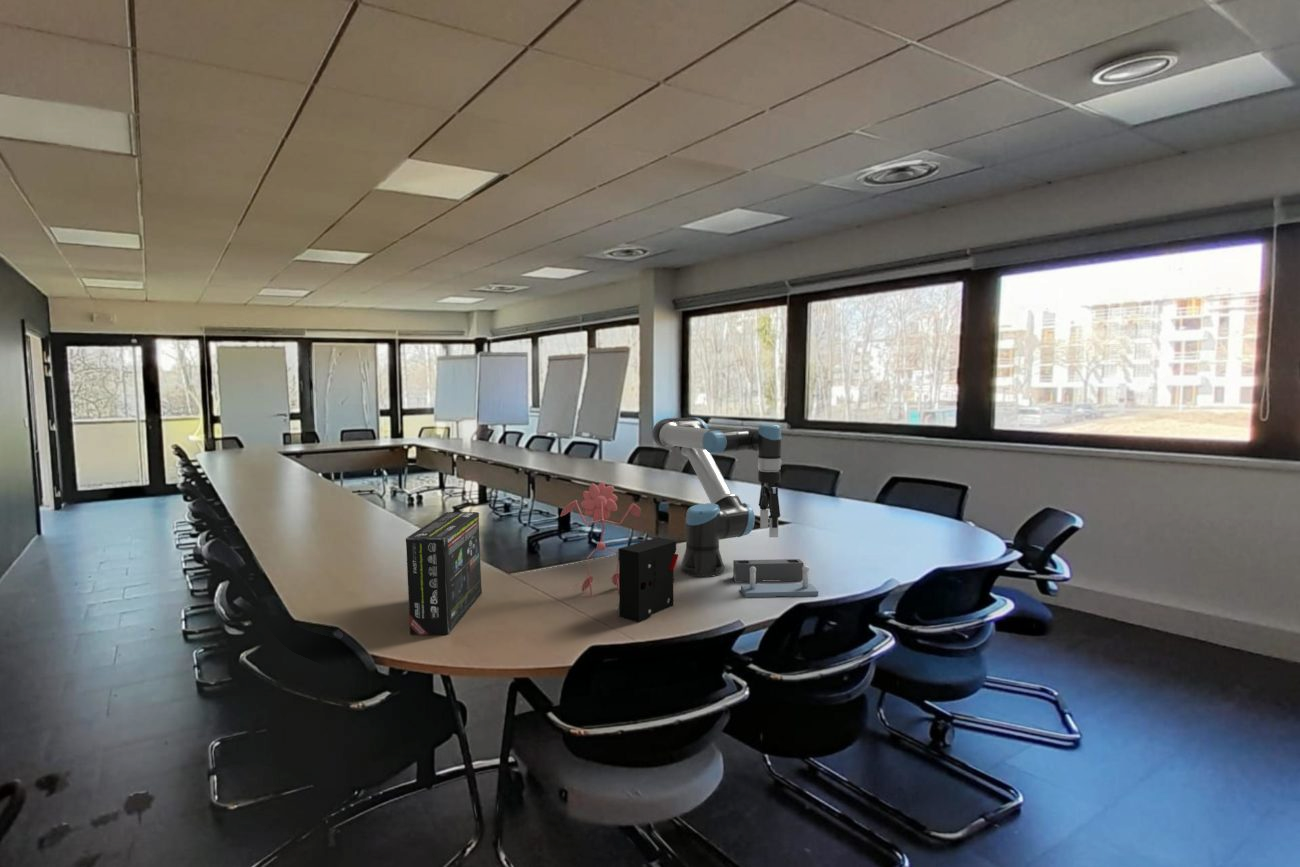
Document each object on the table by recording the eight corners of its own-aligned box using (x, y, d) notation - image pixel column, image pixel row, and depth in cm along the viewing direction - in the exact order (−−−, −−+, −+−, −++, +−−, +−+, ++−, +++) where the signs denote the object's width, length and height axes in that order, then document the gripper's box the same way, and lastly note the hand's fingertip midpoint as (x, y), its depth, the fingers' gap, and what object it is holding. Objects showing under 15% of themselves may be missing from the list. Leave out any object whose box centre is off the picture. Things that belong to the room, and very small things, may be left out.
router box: (448, 593, 215) (445, 511, 213) (482, 593, 215) (480, 511, 213) (406, 636, 179) (403, 537, 177) (448, 636, 179) (445, 537, 177)
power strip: (735, 581, 227) (736, 564, 226) (733, 577, 232) (733, 560, 231) (803, 580, 228) (803, 563, 227) (799, 576, 233) (799, 559, 232)
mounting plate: (745, 597, 210) (746, 570, 209) (740, 589, 218) (741, 563, 217) (818, 595, 211) (818, 568, 211) (810, 588, 219) (811, 561, 219)
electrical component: (652, 599, 208) (652, 536, 207) (678, 606, 202) (678, 541, 200) (613, 615, 195) (613, 547, 193) (640, 623, 188) (640, 552, 187)
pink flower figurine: (645, 590, 217) (644, 482, 215) (567, 600, 208) (564, 487, 206) (630, 578, 231) (628, 477, 229) (556, 587, 222) (554, 481, 220)
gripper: (790, 475, 215) (789, 540, 216) (771, 465, 239) (770, 524, 241) (767, 475, 214) (766, 541, 216) (750, 465, 239) (750, 524, 241)
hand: (768, 532), depth 228 cm, fingers open, 13 cm apart
